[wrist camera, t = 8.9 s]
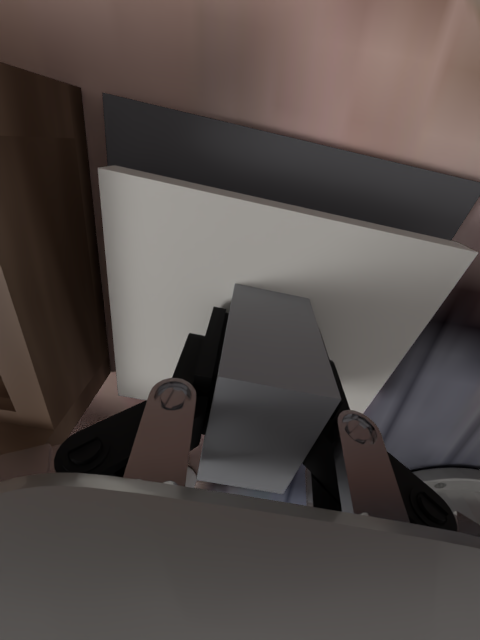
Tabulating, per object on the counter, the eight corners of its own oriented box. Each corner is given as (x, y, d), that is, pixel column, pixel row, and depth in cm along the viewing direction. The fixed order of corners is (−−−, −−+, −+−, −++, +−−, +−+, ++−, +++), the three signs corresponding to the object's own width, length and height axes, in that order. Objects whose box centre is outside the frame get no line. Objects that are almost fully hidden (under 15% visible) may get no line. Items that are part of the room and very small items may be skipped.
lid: (456, 242, 10) (660, 342, 5) (341, 418, 16) (379, 546, 11) (114, 165, 9) (-60, 190, 4) (127, 379, 16) (61, 496, 10)
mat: (480, 182, 11) (487, 184, 10) (336, 413, 19) (337, 418, 19) (107, 94, 10) (102, 92, 10) (125, 374, 18) (122, 379, 18)
